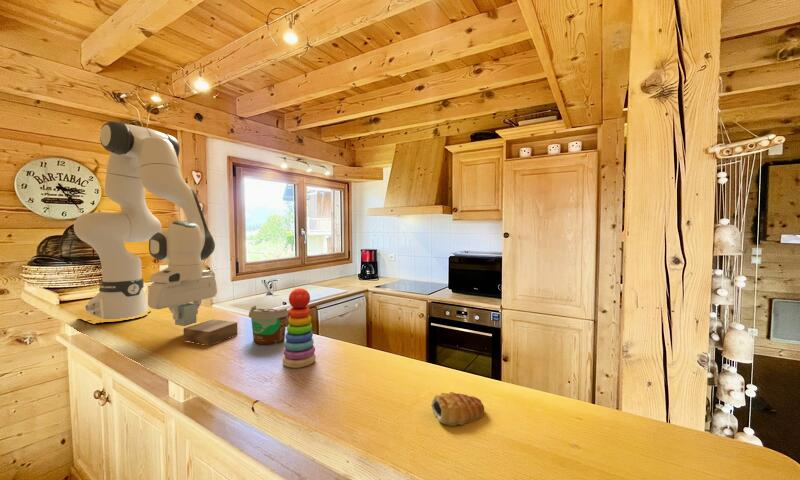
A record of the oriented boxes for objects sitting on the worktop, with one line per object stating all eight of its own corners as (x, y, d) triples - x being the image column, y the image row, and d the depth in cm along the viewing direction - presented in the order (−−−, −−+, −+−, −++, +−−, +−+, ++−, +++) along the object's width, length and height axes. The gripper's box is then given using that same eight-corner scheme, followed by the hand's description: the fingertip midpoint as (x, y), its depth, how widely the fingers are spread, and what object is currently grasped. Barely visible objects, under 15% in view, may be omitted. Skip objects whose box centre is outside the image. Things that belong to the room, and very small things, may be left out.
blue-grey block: (175, 324, 99) (174, 305, 99) (187, 321, 103) (187, 302, 103) (184, 326, 98) (184, 306, 98) (196, 322, 102) (196, 303, 102)
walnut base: (183, 341, 94) (183, 328, 94) (213, 331, 104) (213, 319, 104) (209, 345, 91) (209, 332, 91) (237, 334, 101) (237, 322, 100)
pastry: (473, 402, 63) (473, 383, 62) (492, 422, 56) (492, 401, 56) (428, 409, 60) (428, 389, 60) (443, 431, 53) (443, 409, 53)
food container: (239, 344, 92) (238, 310, 92) (254, 337, 98) (254, 305, 98) (274, 349, 89) (274, 313, 88) (288, 341, 95) (288, 308, 94)
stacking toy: (275, 365, 79) (274, 289, 78) (299, 353, 86) (299, 284, 85) (299, 371, 75) (298, 292, 74) (322, 359, 82) (322, 287, 81)
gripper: (207, 268, 111) (207, 308, 111) (143, 276, 91) (144, 324, 92) (221, 269, 109) (221, 309, 109) (159, 278, 89) (159, 327, 90)
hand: (185, 316), depth 100 cm, fingers closed on blue-grey block, 4 cm apart
